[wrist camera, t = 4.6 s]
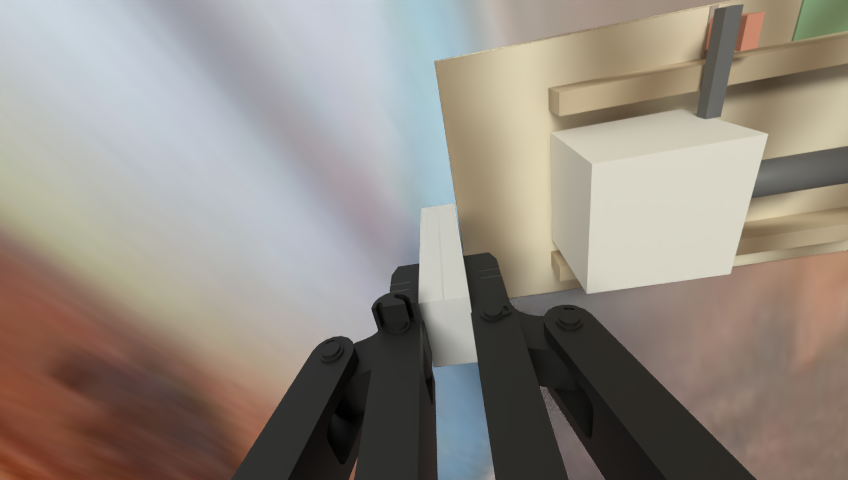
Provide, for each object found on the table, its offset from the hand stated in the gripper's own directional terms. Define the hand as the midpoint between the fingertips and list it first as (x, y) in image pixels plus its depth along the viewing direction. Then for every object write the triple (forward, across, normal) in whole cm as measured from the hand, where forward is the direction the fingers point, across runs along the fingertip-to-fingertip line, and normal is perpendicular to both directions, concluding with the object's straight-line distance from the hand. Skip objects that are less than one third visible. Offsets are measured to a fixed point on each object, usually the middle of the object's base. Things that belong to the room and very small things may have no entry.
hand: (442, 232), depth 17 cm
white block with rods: (+3, +12, +2) cm, 12 cm away
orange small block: (+3, +13, +6) cm, 14 cm away
